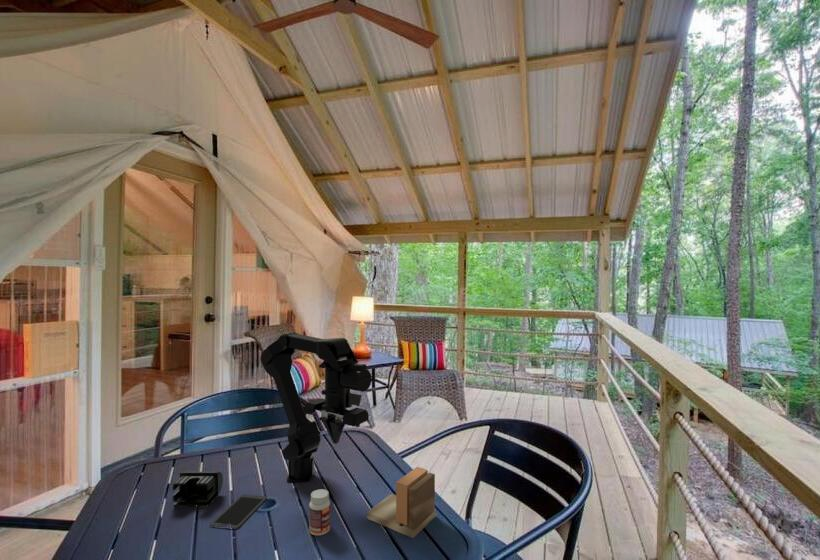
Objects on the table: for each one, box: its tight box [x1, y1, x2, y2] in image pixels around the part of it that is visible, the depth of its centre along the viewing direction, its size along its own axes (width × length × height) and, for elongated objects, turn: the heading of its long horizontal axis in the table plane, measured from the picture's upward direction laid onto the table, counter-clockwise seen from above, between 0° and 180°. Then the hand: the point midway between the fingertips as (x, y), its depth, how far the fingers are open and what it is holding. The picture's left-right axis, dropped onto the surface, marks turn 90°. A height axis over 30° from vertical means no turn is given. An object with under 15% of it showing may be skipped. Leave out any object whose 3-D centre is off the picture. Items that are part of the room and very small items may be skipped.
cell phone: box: [209, 493, 268, 531], centre depth 101 cm, size 7×14×1 cm, turn 170°
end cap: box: [172, 471, 224, 507], centre depth 107 cm, size 10×7×7 cm
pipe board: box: [366, 472, 437, 539], centre depth 99 cm, size 13×10×10 cm
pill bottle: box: [308, 488, 331, 536], centre depth 94 cm, size 5×5×8 cm
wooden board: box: [395, 466, 429, 525], centre depth 97 cm, size 3×9×9 cm, turn 146°
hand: (335, 443), depth 111 cm, fingers closed
